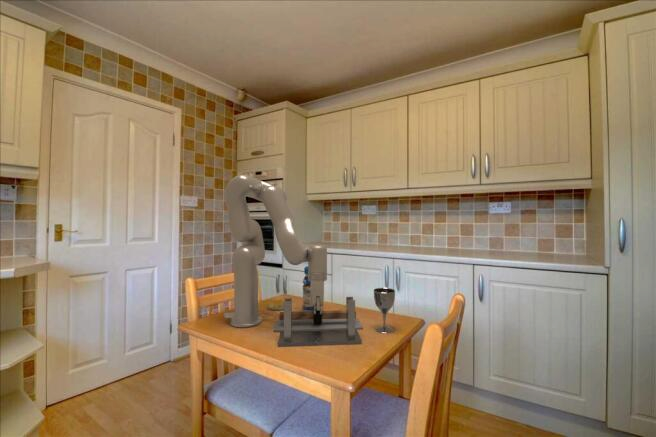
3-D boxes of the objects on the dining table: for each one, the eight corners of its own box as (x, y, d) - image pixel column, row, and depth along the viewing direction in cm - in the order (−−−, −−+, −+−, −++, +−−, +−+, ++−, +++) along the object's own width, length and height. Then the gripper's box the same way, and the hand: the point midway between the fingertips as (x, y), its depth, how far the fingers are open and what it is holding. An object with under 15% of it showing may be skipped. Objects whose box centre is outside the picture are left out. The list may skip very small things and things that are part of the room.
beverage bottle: (320, 307, 145) (320, 265, 145) (321, 312, 137) (321, 268, 137) (302, 307, 144) (302, 265, 145) (302, 312, 136) (302, 268, 136)
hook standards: (277, 346, 100) (277, 304, 100) (280, 335, 110) (280, 296, 110) (361, 343, 102) (361, 302, 102) (356, 332, 112) (356, 294, 112)
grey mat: (273, 331, 113) (273, 330, 113) (275, 322, 124) (276, 320, 124) (362, 329, 116) (362, 327, 116) (358, 319, 126) (358, 318, 126)
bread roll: (275, 304, 150) (275, 296, 150) (289, 307, 145) (289, 299, 145) (263, 309, 143) (263, 300, 143) (277, 312, 138) (277, 303, 138)
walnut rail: (279, 320, 117) (279, 314, 117) (280, 317, 120) (279, 311, 120) (355, 318, 119) (355, 312, 119) (354, 316, 122) (354, 310, 122)
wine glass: (389, 335, 109) (389, 293, 109) (370, 330, 114) (369, 290, 114) (398, 328, 116) (398, 289, 116) (379, 324, 120) (379, 286, 121)
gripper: (307, 272, 128) (307, 316, 128) (308, 280, 111) (308, 330, 111) (325, 272, 128) (325, 315, 128) (328, 280, 112) (328, 329, 112)
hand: (317, 322), depth 120 cm, fingers closed on walnut rail, 3 cm apart
